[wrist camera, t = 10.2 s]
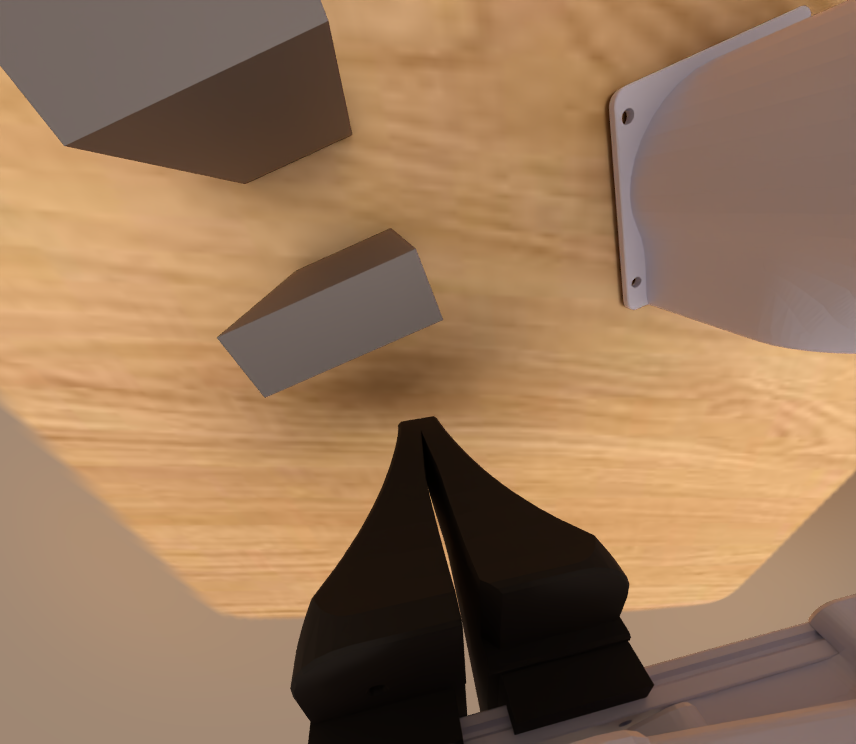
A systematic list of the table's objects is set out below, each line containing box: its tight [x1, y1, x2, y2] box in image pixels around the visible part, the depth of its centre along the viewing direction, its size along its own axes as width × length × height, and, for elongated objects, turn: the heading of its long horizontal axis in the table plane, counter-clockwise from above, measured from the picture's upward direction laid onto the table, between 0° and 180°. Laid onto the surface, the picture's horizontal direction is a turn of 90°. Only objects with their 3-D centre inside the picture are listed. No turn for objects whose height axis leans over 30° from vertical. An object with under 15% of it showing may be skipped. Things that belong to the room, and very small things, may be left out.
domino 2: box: [217, 228, 443, 397], centre depth 10 cm, size 2×4×8 cm, turn 112°
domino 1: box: [0, 0, 352, 184], centre depth 8 cm, size 2×4×8 cm, turn 111°
